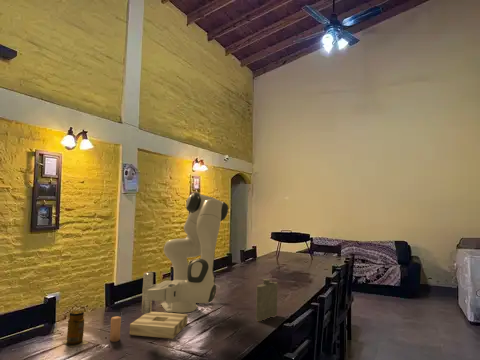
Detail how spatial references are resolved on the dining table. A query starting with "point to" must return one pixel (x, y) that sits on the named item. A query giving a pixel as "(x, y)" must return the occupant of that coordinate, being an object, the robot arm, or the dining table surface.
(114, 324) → the short terracotta pin
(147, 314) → the hole block
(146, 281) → the tall metal pin
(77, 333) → the condiment
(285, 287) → the dining table surface
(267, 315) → the hip flask
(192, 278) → the robot arm
